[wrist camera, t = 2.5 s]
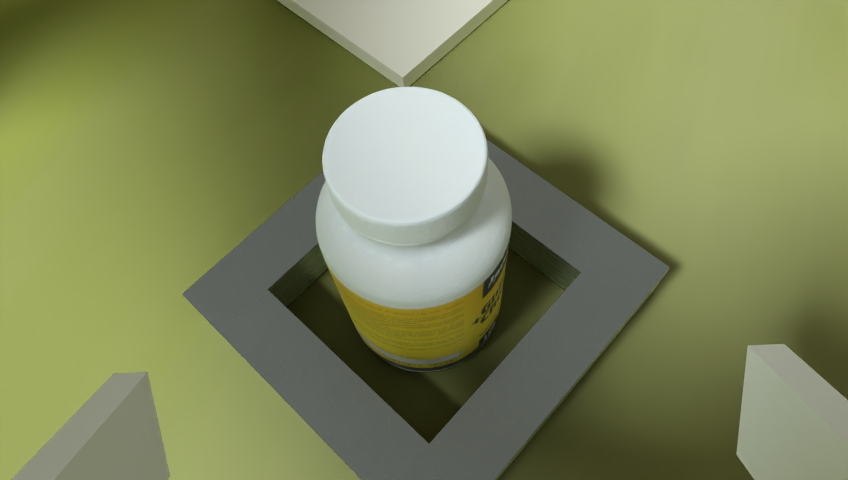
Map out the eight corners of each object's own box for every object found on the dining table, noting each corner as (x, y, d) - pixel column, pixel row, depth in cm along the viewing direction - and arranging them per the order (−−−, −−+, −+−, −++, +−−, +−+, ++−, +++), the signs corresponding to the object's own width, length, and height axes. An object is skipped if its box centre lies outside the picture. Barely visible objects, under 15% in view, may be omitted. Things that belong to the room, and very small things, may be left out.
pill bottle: (472, 398, 26) (478, 290, 16) (329, 347, 27) (247, 216, 17) (518, 262, 29) (550, 92, 18) (386, 221, 30) (345, 41, 20)
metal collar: (204, 315, 28) (182, 293, 26) (419, 122, 32) (416, 89, 30) (436, 554, 23) (433, 553, 21) (653, 291, 28) (670, 267, 25)
